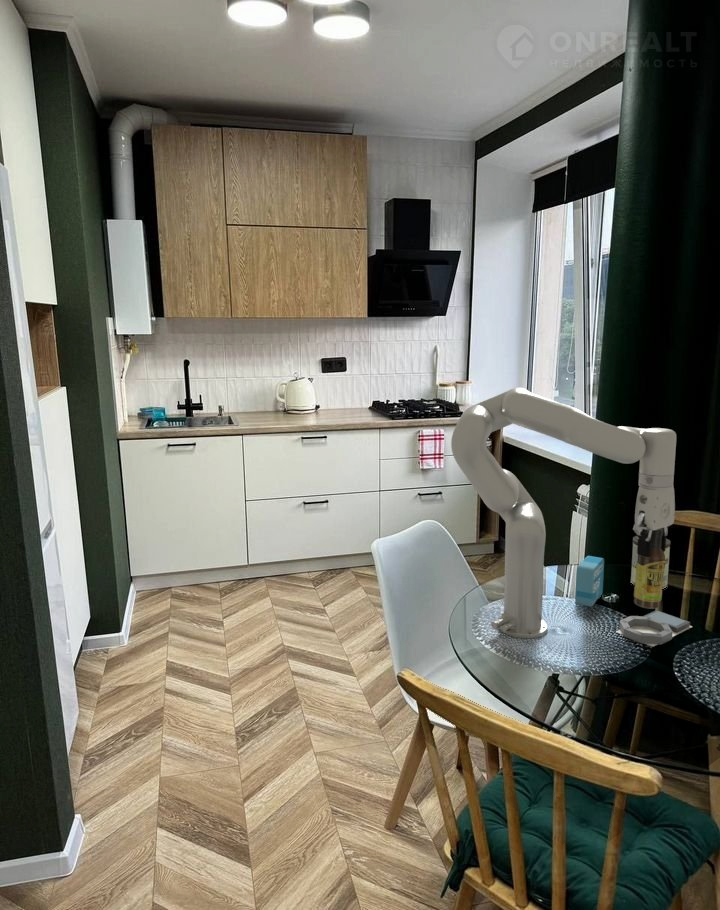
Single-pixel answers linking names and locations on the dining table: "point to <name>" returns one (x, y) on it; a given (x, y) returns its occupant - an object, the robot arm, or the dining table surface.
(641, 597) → the sauce bottle
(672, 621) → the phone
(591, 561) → the data package
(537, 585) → the robot arm
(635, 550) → the coffee can
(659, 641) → the grey shallow tray
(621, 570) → the dining table surface
